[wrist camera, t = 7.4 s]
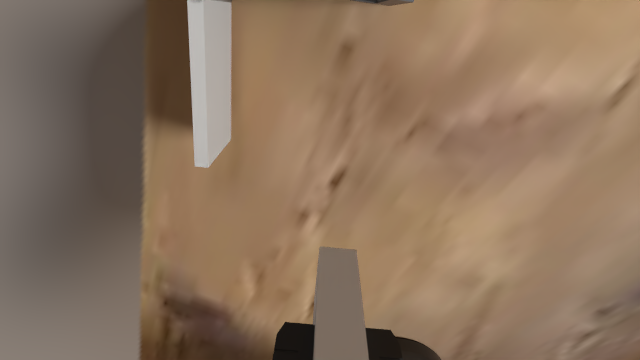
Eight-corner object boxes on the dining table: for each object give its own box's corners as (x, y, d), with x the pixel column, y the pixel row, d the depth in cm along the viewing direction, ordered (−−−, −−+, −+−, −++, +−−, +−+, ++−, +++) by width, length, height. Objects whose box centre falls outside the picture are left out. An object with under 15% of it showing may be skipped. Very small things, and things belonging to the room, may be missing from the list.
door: (214, 137, 32) (188, 165, 26) (212, -14, 27) (177, -21, 21) (232, 139, 32) (209, 167, 26) (232, -11, 27) (204, -18, 21)
